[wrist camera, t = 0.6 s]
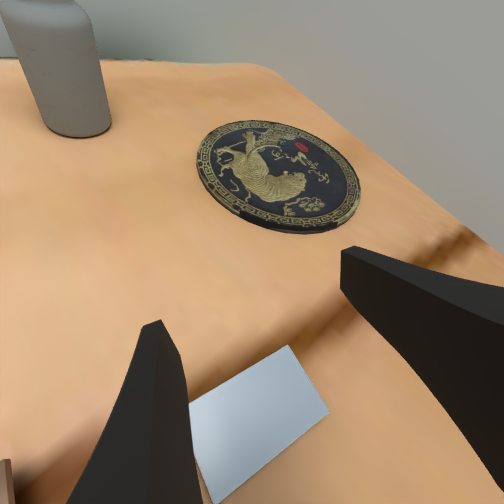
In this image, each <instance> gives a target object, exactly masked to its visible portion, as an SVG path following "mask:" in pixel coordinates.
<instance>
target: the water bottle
mask: <svg viewBox="0 0 504 504" xmlns="http://www.w3.org/2000/svg"><path fill="white" fill-rule="evenodd" d="M0 14H1V17H2V20H3V22H4V25H5V27H6V30H7V32H8V35H9V37H10V40H11V42H12V44H13V47H14V49H15V52H16V54H17V57H18V59H19V62H20V64H21V66H22V69H23V71H24V74H25V76H26V79H27V81H28V84H29V86H30V88H31V91H32V93H33V96H34V98H35V101H36V103H37V106H38V108H39V111H40V113H41V115H42V118H43V120H44V122H45V124H46V125H47V126H48V127H49V128H50V129H52V130H53V131H55V132H57V133H59V134H62V135H66V136H71V137H89V136H94V135H97V134H100V133H102V132H104V131H105V130H106V129H108V127H109V126H110V124H111V115H110V110H109V106H108V101H107V96H106V91H105V86H104V81H103V76H102V72H101V67H100V62H99V57H98V52H97V47H96V43H95V38H94V33H93V28H92V24H91V20H90V18H89V16H88V14H87V13H86V12H85V10H84V9H83V7H82V6H81V5H79V4H78V3H77V2H75V1H74V0H0Z"/></svg>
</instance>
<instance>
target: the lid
mask: <svg viewBox="0 0 504 504" xmlns="http://www.w3.org/2000/svg"><path fill="white" fill-rule="evenodd" d="M189 412H190V422H191V431H192V441H193V450H194V457H195V459H196V462H197V464H198V467H199V470H200V472H201V475H202V477H203V480H204V482H205V485H206V488H207V490H208V493H209V495H210V498H211V500H212V503H213V504H218V503H220V502H221V501H222V500H223V499H224V498H226V497H227V496H228V495H229V494H231V493H232V492H233V491H234V490H235V489H237V488H238V487H239V486H240V485H242V484H243V483H244V482H245V481H246V480H248V479H249V478H250V477H251V476H253V475H254V474H255V473H256V472H257V471H259V470H260V469H261V468H262V467H263V466H265V465H266V464H267V463H268V462H270V461H271V460H272V459H273V458H274V457H276V456H277V455H278V454H279V453H281V452H282V451H283V450H284V449H285V448H287V447H288V446H289V445H290V444H292V443H293V442H294V441H295V440H296V439H298V438H299V437H300V436H301V435H303V434H304V433H305V432H306V431H307V430H309V429H310V428H311V427H312V426H313V425H315V424H316V423H317V422H318V421H320V420H321V419H322V418H323V417H324V416H326V415H327V414H328V413H329V412H330V410H329V409H328V407H327V406H326V404H325V403H324V401H323V399H322V398H321V396H320V395H319V393H318V392H317V390H316V388H315V387H314V385H313V384H312V382H311V381H310V379H309V377H308V376H307V374H306V373H305V371H304V369H303V368H302V366H301V365H300V363H299V362H298V360H297V358H296V357H295V355H294V354H293V352H292V351H291V349H290V347H289V346H288V345H286V346H285V347H283V348H281V349H280V350H278V351H276V352H275V353H273V354H271V355H270V356H268V357H266V358H265V359H263V360H261V361H260V362H258V363H256V364H255V365H253V366H251V367H250V368H248V369H246V370H245V371H243V372H241V373H240V374H238V375H236V376H235V377H233V378H231V379H230V380H228V381H226V382H225V383H223V384H221V385H220V386H218V387H216V388H215V389H213V390H211V391H210V392H208V393H206V394H205V395H203V396H201V397H200V398H198V399H196V400H195V401H193V402H191V403H190V404H189Z"/></svg>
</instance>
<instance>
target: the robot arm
mask: <svg viewBox="0 0 504 504" xmlns="http://www.w3.org/2000/svg"><path fill="white" fill-rule="evenodd" d="M340 289H341V291H342V292H343V293H344V295H345V296H346V297H347V299H348V300H349V301H350V303H351V304H352V305H353V306H354V308H355V309H356V310H357V311H358V312H359V313H360V314H361V315H362V316H363V317H364V318H365V319H366V320H367V321H368V322H369V323H370V324H371V325H372V326H373V327H374V328H375V329H376V330H377V331H378V332H379V333H380V334H381V335H382V336H383V337H384V338H385V339H386V340H387V341H388V342H389V343H390V344H391V345H392V346H393V347H394V348H395V349H396V350H397V352H398V353H399V354H400V355H401V356H402V357H403V358H404V359H405V360H406V361H407V363H408V364H409V365H410V366H411V367H412V369H413V370H414V371H415V372H416V374H417V375H418V376H419V377H420V378H421V380H422V381H423V382H424V383H425V385H426V386H427V387H428V388H429V390H430V391H431V392H432V394H433V395H434V396H435V397H436V399H437V400H438V401H439V402H440V404H441V405H442V406H443V408H444V409H445V410H446V412H447V413H448V414H449V416H450V417H451V419H452V420H453V421H454V423H455V424H456V425H457V427H458V428H459V429H460V431H461V432H462V434H463V435H464V436H465V438H466V439H467V441H468V442H469V443H470V445H471V446H472V448H473V449H474V451H475V452H476V454H477V455H478V457H479V458H480V460H481V461H482V462H483V464H484V465H485V467H486V468H487V470H488V471H489V473H490V474H491V476H492V477H493V479H494V481H495V482H496V484H497V485H498V486H499V488H500V489H501V490H502V491H503V492H504V287H499V286H494V285H489V284H484V283H480V282H475V281H471V280H466V279H462V278H458V277H454V276H450V275H446V274H443V273H439V272H436V271H432V270H429V269H425V268H422V267H419V266H415V265H412V264H409V263H406V262H403V261H400V260H397V259H394V258H391V257H388V256H385V255H382V254H379V253H376V252H373V251H370V250H367V249H364V248H361V247H357V246H352V247H349V248H347V249H344V250H341V272H340ZM66 504H203V500H202V495H201V490H200V485H199V480H198V475H197V470H196V464H195V457H194V450H193V441H192V431H191V422H190V412H189V403H188V394H187V385H186V379H185V374H184V370H183V365H182V361H181V357H180V354H179V352H178V350H177V348H176V346H175V344H174V343H173V341H172V339H171V337H170V335H169V333H168V331H167V330H166V328H165V326H164V324H163V322H162V320H161V319H160V320H158V321H155V322H152V323H150V324H147V325H144V326H143V327H142V329H141V332H140V335H139V339H138V342H137V345H136V348H135V351H134V354H133V357H132V360H131V363H130V366H129V369H128V372H127V374H126V377H125V380H124V382H123V385H122V388H121V390H120V393H119V395H118V398H117V400H116V403H115V405H114V407H113V410H112V412H111V414H110V417H109V419H108V421H107V424H106V426H105V428H104V430H103V432H102V435H101V437H100V439H99V441H98V443H97V445H96V447H95V449H94V451H93V453H92V455H91V457H90V459H89V461H88V463H87V465H86V467H85V469H84V471H83V473H82V475H81V476H80V478H79V480H78V482H77V484H76V486H75V488H74V489H73V491H72V493H71V495H70V497H69V499H68V500H67V502H66Z"/></svg>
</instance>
